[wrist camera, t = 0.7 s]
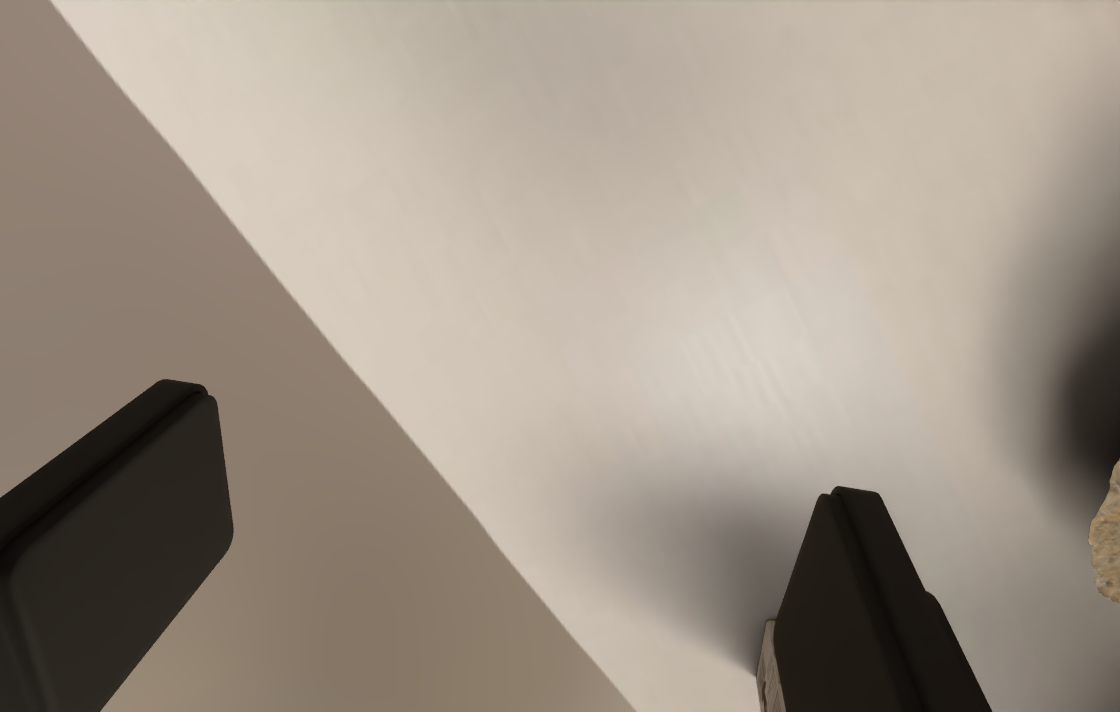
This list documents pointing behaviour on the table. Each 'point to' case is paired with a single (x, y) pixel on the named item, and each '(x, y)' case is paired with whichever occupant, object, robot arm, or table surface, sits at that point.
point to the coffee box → (769, 675)
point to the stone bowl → (1108, 541)
